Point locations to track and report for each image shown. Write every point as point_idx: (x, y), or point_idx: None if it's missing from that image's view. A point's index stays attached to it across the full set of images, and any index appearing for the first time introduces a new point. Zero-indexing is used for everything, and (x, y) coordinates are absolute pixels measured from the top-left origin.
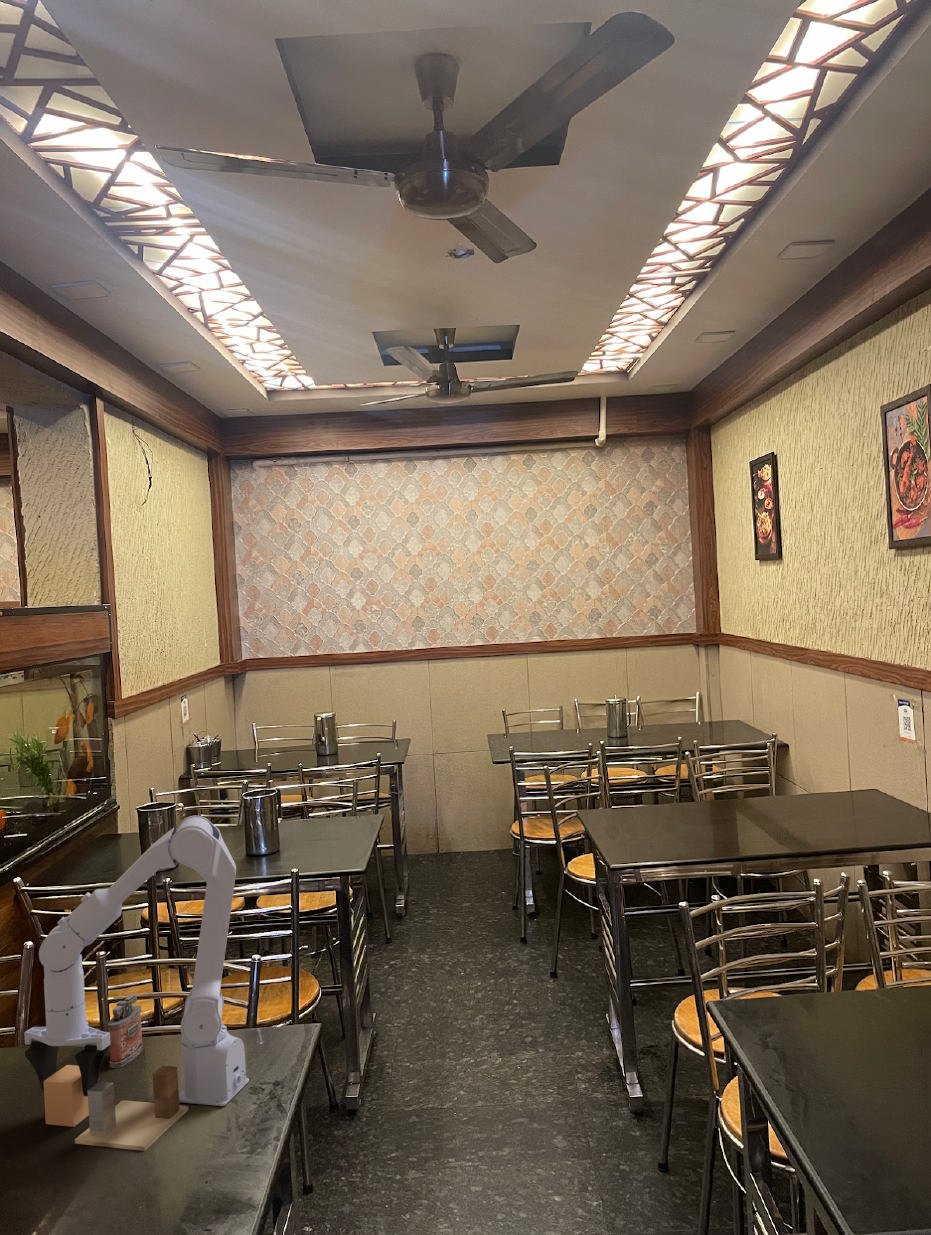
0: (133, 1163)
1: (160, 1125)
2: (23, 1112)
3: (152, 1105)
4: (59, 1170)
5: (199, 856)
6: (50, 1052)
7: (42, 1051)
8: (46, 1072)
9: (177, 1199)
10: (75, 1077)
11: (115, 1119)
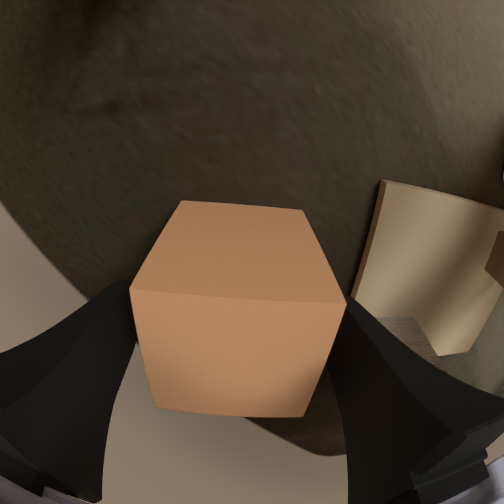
0: (450, 370)
1: (492, 293)
2: (67, 247)
3: (475, 216)
4: (337, 407)
5: None
6: (69, 426)
7: (84, 482)
8: (109, 375)
9: (487, 392)
10: (291, 389)
11: (422, 330)
